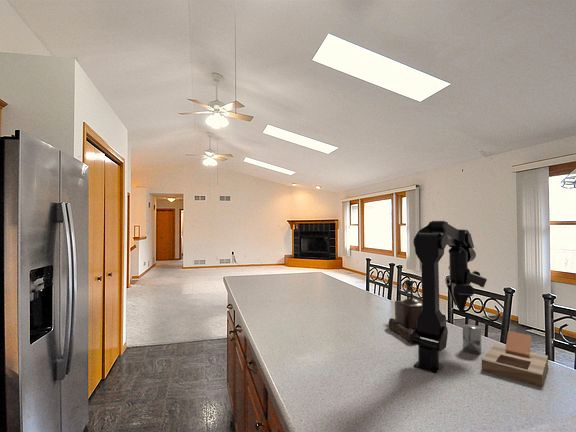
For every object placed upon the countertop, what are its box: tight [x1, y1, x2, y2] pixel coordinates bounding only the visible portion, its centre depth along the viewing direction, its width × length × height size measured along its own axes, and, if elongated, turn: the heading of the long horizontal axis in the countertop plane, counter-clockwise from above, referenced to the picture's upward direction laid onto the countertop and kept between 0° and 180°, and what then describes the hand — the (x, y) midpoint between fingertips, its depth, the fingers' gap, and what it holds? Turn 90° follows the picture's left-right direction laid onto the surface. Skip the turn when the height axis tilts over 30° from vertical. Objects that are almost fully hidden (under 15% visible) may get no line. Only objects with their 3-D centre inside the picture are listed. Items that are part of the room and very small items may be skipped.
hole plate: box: [481, 343, 549, 387], centre depth 97 cm, size 18×14×3 cm
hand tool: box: [388, 317, 413, 345], centre depth 125 cm, size 19×4×5 cm, turn 7°
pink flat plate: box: [505, 330, 532, 357], centre depth 101 cm, size 7×6×1 cm
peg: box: [462, 324, 482, 355], centre depth 110 cm, size 6×6×8 cm
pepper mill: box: [394, 278, 422, 330], centre depth 141 cm, size 16×11×18 cm
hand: (459, 308), depth 116 cm, fingers open, 9 cm apart
